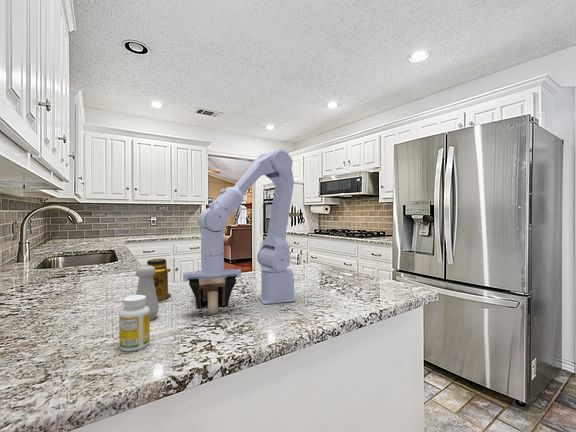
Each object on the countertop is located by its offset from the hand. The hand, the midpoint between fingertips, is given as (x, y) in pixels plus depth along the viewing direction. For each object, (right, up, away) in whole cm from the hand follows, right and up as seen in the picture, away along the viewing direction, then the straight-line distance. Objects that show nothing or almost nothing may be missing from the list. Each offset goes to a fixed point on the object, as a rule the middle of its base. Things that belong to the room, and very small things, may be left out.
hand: (212, 306), depth 77 cm
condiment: (-20, -2, +12) cm, 23 cm away
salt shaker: (-15, -2, -5) cm, 16 cm away
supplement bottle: (-11, -2, -19) cm, 22 cm away
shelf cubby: (-3, -1, +10) cm, 11 cm away
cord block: (-2, -1, +6) cm, 7 cm away
